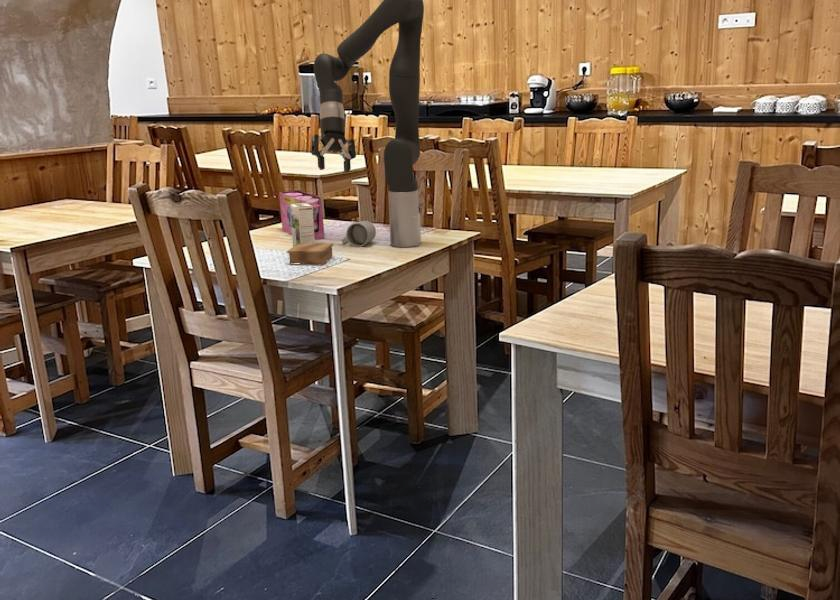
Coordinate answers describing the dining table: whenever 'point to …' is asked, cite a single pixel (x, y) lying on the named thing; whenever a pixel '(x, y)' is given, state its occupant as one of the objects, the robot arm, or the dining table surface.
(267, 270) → the dining table surface
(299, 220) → the syrup box
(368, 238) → the ceramic mug
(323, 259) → the plinth
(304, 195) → the gum box
